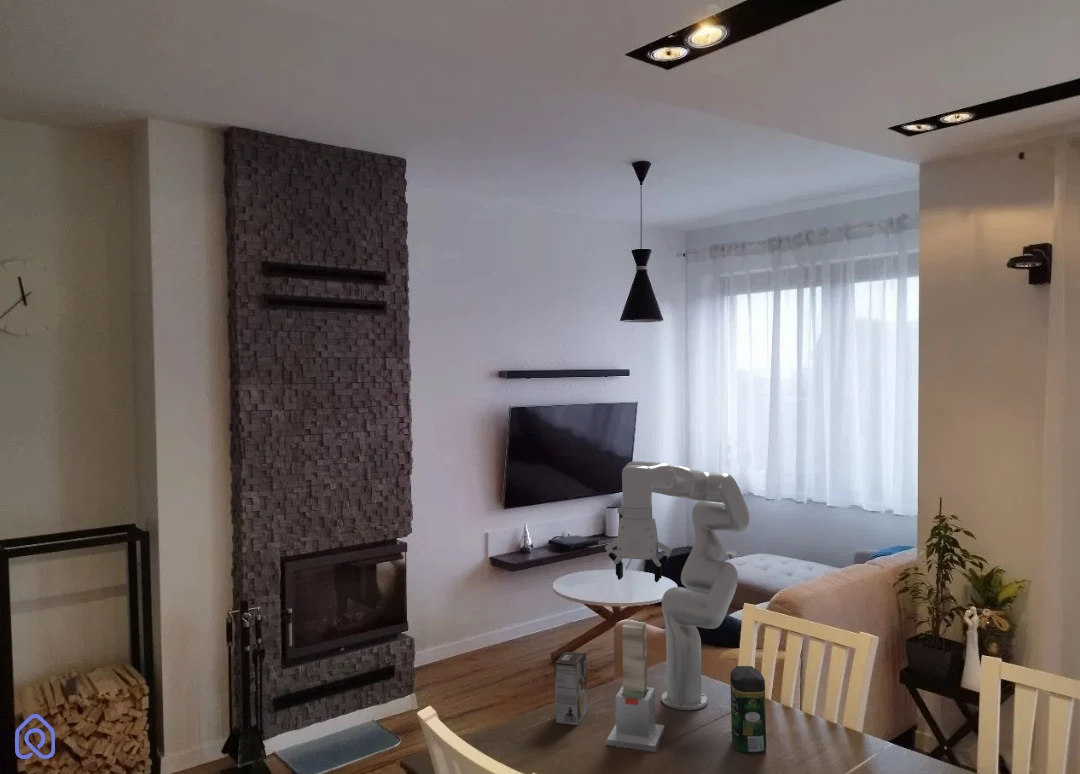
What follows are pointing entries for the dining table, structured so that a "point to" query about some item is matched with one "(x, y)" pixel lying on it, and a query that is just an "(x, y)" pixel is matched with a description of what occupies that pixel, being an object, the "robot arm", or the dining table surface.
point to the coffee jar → (748, 710)
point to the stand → (636, 723)
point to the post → (634, 659)
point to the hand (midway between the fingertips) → (638, 579)
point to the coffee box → (571, 688)
